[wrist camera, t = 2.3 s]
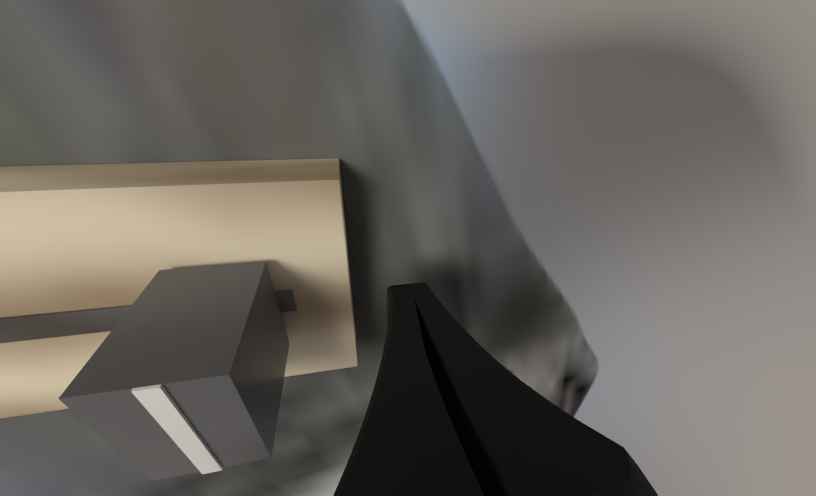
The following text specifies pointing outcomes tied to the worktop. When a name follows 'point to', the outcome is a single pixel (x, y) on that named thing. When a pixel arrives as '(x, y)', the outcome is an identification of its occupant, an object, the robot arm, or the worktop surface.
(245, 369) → the fader knob
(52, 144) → the worktop surface
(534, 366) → the worktop surface
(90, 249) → the fader console
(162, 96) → the worktop surface
